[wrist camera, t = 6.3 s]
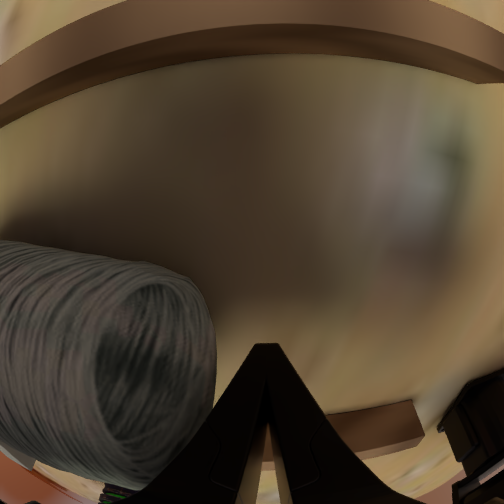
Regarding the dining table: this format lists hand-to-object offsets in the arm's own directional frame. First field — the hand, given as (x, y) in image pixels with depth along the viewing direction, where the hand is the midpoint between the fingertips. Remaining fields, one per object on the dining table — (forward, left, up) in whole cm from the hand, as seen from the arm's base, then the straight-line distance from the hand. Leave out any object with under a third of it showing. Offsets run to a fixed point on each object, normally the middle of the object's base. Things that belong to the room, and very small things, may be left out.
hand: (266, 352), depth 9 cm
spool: (+8, 0, -3) cm, 9 cm away
